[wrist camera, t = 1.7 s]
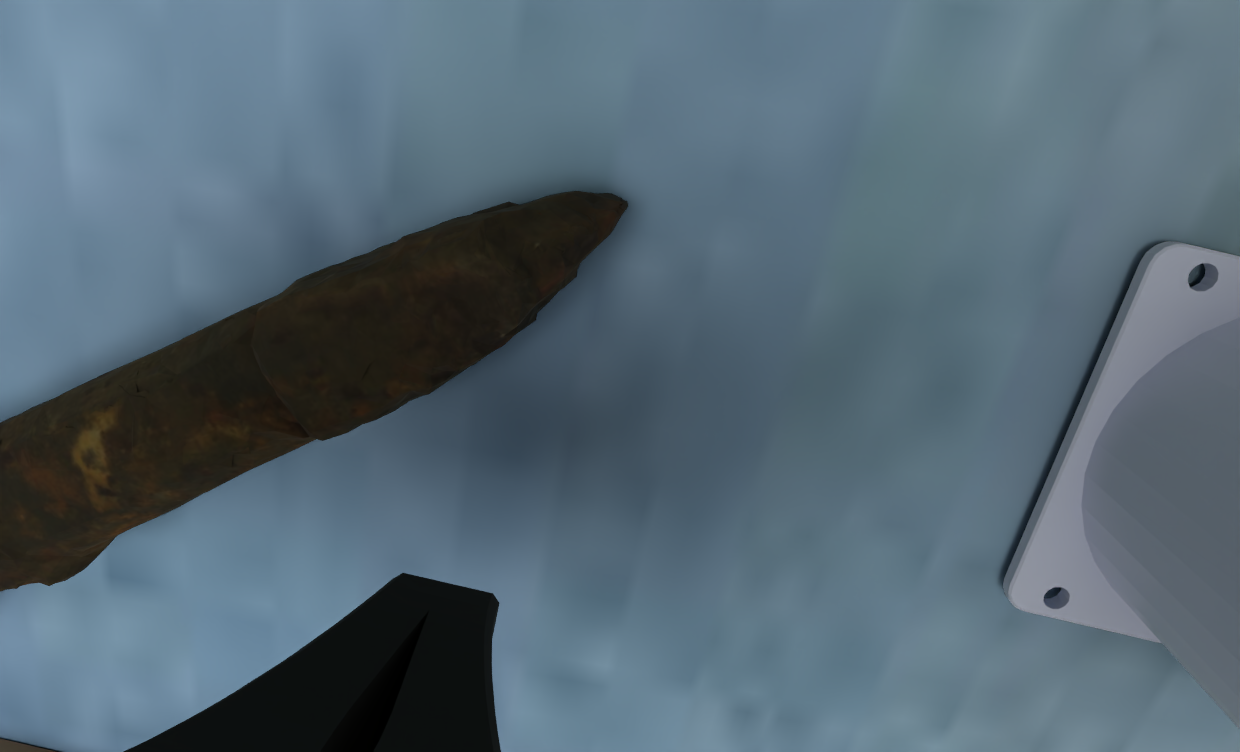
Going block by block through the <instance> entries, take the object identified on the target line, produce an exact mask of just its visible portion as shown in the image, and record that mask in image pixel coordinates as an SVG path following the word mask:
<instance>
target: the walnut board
mask: <svg viewBox="0 0 1240 752" xmlns="http://www.w3.org/2000/svg"><path fill="white" fill-rule="evenodd" d="M0 752H56V751H52V750H47V749H43V748H39V747H34V746H30V745H26V744H21V743H17V742H13V741H8V740H4V739H0Z"/></svg>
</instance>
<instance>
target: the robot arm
mask: <svg viewBox="0 0 1240 752" xmlns="http://www.w3.org/2000/svg"><path fill="white" fill-rule="evenodd" d="M1201 263H1203V264H1204V267H1205V269H1206V270H1205V276H1204V278H1203V279H1202V280H1201V282H1200V283H1198V284H1196V285H1195V286H1193V287H1190V286H1189V284H1188V276H1189V273H1190V272H1191V271H1192V269H1193V268H1194V267H1196V266H1198V265H1200V264H1201ZM1054 587H1061V591H1060V592H1059V593H1058V595H1057V596H1054V597H1052V598H1044V595H1045V594H1046V592H1047V591H1048V590H1050V589H1052V588H1054ZM1003 589H1004V593H1005V595H1006V596H1007V598H1008V599H1009V601H1010V602H1011V603H1012V604H1013V605H1014V606H1015V608H1017V609H1020V610H1022V611H1025V612H1029V613H1033V614H1038V615H1042V616H1046V617H1051V618H1055V619H1059V620H1063V621H1068V622H1072V623H1076V624H1081V625H1085V626H1089V627H1093V628H1098V629H1102V630H1106V631H1111V632H1115V633H1119V634H1123V635H1128V636H1132V637H1136V638H1141V639H1145V640H1149V641H1153V642H1158V643H1162V644H1163V645H1164V646H1165V647H1166V648H1167V649H1168V650H1169V652H1170V653H1171V654H1172V655H1173V656H1174V657H1175V658H1176V659H1177V660H1178V662H1179V663H1180V664H1181V665H1182V666H1183V667H1184V668H1185V669H1186V670H1187V672H1188V673H1189V674H1190V675H1191V676H1192V677H1193V678H1194V679H1195V680H1196V682H1197V683H1198V684H1199V685H1200V686H1201V687H1202V688H1203V689H1204V690H1205V692H1206V693H1207V694H1208V695H1209V696H1210V697H1211V698H1212V699H1213V700H1214V702H1215V703H1216V704H1217V705H1218V706H1219V707H1220V708H1221V709H1222V710H1223V711H1224V713H1225V714H1226V715H1227V716H1228V717H1229V718H1230V719H1231V720H1232V721H1233V723H1234V724H1235V725H1236V726H1237V727H1238V728H1239V729H1240V256H1236V255H1232V254H1228V253H1223V252H1219V251H1215V250H1211V249H1207V248H1202V247H1198V246H1194V245H1190V244H1185V243H1181V242H1173V241H1166V242H1163V243H1160V244H1157V245H1155V246H1154V247H1152V248H1151V249H1150V250H1149V251H1147V252H1146V253H1145V255H1144V257H1143V258H1142V260H1141V261H1140V263H1139V265H1138V268H1137V270H1136V272H1135V275H1134V277H1133V279H1132V282H1131V284H1130V286H1129V289H1128V291H1127V293H1126V296H1125V298H1124V300H1123V303H1122V305H1121V307H1120V310H1119V312H1118V314H1117V317H1116V319H1115V321H1114V324H1113V326H1112V328H1111V331H1110V333H1109V335H1108V338H1107V340H1106V342H1105V345H1104V347H1103V349H1102V352H1101V354H1100V356H1099V359H1098V361H1097V363H1096V366H1095V368H1094V370H1093V373H1092V375H1091V377H1090V380H1089V382H1088V384H1087V387H1086V389H1085V391H1084V394H1083V396H1082V398H1081V401H1080V403H1079V405H1078V408H1077V410H1076V412H1075V415H1074V417H1073V419H1072V422H1071V424H1070V426H1069V429H1068V431H1067V433H1066V436H1065V438H1064V440H1063V442H1062V445H1061V447H1060V449H1059V452H1058V454H1057V456H1056V459H1055V461H1054V463H1053V466H1052V468H1051V470H1050V473H1049V475H1048V477H1047V480H1046V482H1045V484H1044V487H1043V489H1042V491H1041V494H1040V496H1039V498H1038V501H1037V503H1036V505H1035V508H1034V510H1033V512H1032V515H1031V517H1030V519H1029V522H1028V524H1027V526H1026V529H1025V531H1024V533H1023V536H1022V538H1021V540H1020V543H1019V545H1018V547H1017V550H1016V552H1015V554H1014V557H1013V559H1012V561H1011V564H1010V566H1009V568H1008V571H1007V573H1006V575H1005V578H1004V582H1003ZM498 607H499V602H498V600H497V599H496V597H495V596H494V594H493V593H488V592H484V591H480V590H475V589H471V588H467V587H462V586H458V585H453V584H449V583H445V582H440V581H436V580H432V579H427V578H423V577H419V576H414V575H410V574H406V573H402V574H400V575H399V576H397V577H395V578H393V579H392V580H391V581H390V582H388V583H387V584H386V585H385V586H384V587H382V588H381V589H380V590H379V591H377V592H376V593H375V594H374V595H372V596H371V597H370V598H369V599H367V600H366V601H365V602H364V603H362V604H361V605H360V606H358V607H357V608H356V609H355V610H353V611H352V612H351V613H349V614H348V615H347V616H345V617H344V618H343V619H342V620H340V621H339V622H338V623H336V624H335V625H334V626H332V627H331V628H329V629H328V630H327V631H325V632H324V633H322V634H321V635H320V636H318V637H317V638H315V639H314V640H313V641H311V642H310V643H308V644H307V645H306V646H304V647H303V648H301V649H300V650H299V651H297V652H296V653H294V654H293V655H292V656H290V657H289V658H287V659H286V660H284V661H283V662H281V663H280V664H278V665H276V666H275V667H273V668H272V669H270V670H269V671H267V672H265V673H264V674H262V675H261V676H259V677H258V678H256V679H254V680H253V681H251V682H250V683H248V684H247V685H245V686H243V687H242V688H240V689H239V690H237V691H236V692H234V693H232V694H231V695H229V696H227V697H226V698H224V699H222V700H221V701H219V702H217V703H216V704H214V705H212V706H210V707H209V708H207V709H205V710H203V711H202V712H200V713H198V714H196V715H194V716H193V717H191V718H189V719H187V720H185V721H184V722H182V723H180V724H178V725H176V726H174V727H172V728H170V729H168V730H167V731H165V732H163V733H161V734H159V735H157V736H155V737H153V738H151V739H149V740H147V741H145V742H143V743H141V744H139V745H137V746H135V747H133V748H130V749H128V750H126V751H124V752H501V750H500V743H499V737H498V731H497V723H496V716H495V706H494V694H493V682H492V636H493V632H494V627H495V622H496V617H497V612H498Z"/></svg>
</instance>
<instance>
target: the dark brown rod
mask: <svg viewBox="0 0 1240 752" xmlns="http://www.w3.org/2000/svg"><path fill="white" fill-rule="evenodd" d="M627 207H628V203H627V201H625V200H623V199H622V198H620V197H618V196H616V195H613V194H610V193H601V194H594V193H589V192H581V191H572V192H564V193H559V194H554V195H549V196H546V197H543V198H540V199H537V200H535V201H532V202H529V203H526V204H522V205H518V204H515V203H511V202H506V203H503V204H500V205H497V206H494V207H491V208H488V209H484V210H481V211H478V212H475V213H473V214H471V215H467V216H462V217H457V218H454V219H451V220H448V221H445V222H442V223H440V224H439V225H436V226H433V227H430V228H428V229H425V230H422V231H419V232H416V233H413V234H409V235H406V236H403V237H402V238H401V239H400V240H398V241H397V242H393V243H390V244H388V245H385V246H382V247H380V248H377V249H375V250H373V251H371V252H369V253H367V254H364V255H360V256H357V257H354V258H351V259H349V260H347V261H345V262H342V263H340V264H336V265H332V266H330V267H327V268H324V269H322V270H319V271H317V272H314V273H312V274H309V275H307V276H304V277H302V278H300V279H298V280H296V281H295V282H294V283H293V284H292V285H290V286H289V287H288V288H287V289H286V290H285V291H283V292H282V293H280V294H279V295H277V296H275V297H272V298H270V299H268V300H265V301H263V302H261V303H258V304H256V305H254V306H251V307H249V308H247V309H244V310H242V311H240V312H237V313H235V314H233V315H231V316H229V317H227V318H225V319H223V320H221V321H219V322H217V323H214V324H212V325H210V326H208V327H206V328H204V329H202V330H200V331H198V332H196V333H194V334H191V335H189V336H187V337H185V338H183V339H181V340H180V341H177V342H175V343H173V344H171V345H169V346H166V347H164V348H162V349H160V350H158V351H156V352H153V353H151V354H149V355H147V356H144V357H142V358H140V359H137V360H135V361H133V362H131V363H128V364H126V365H124V366H121V367H119V368H117V369H114V370H112V371H110V372H108V373H105V374H103V375H101V376H99V377H97V378H95V379H93V380H91V381H88V382H86V383H84V384H82V385H80V386H78V387H76V388H74V389H72V390H70V391H68V392H65V393H64V394H62V395H60V396H58V397H56V398H54V399H51V400H49V401H47V402H44V403H42V404H40V405H37V406H35V407H32V408H30V409H29V410H27V411H25V412H23V413H21V414H19V415H17V416H14V417H12V418H9V419H7V420H5V421H3V422H1V423H0V591H3V590H5V589H17V588H18V587H20V586H22V585H26V584H31V583H42V584H45V585H48V586H50V585H52V584H55V583H58V582H62V581H65V580H67V579H69V578H71V577H73V576H74V575H76V574H77V573H79V572H81V571H82V570H84V569H85V568H86V567H87V566H88V565H89V564H90V563H91V562H92V561H93V560H95V558H96V557H97V556H98V555H99V554H100V553H101V552H102V551H103V550H104V549H105V548H106V547H107V546H108V545H109V544H110V543H111V542H112V541H113V540H114V538H115V537H116V536H117V535H119V534H121V533H123V532H125V531H127V530H129V529H131V528H133V527H135V526H138V525H140V524H142V523H145V522H147V521H149V520H151V519H154V518H156V517H158V516H160V515H163V514H165V513H167V512H169V511H171V510H173V509H176V508H178V507H180V506H181V505H183V504H185V503H187V502H189V501H190V500H192V499H194V498H196V497H198V496H199V495H201V494H203V493H205V492H208V491H210V490H212V489H214V488H215V487H217V486H219V485H221V484H223V483H225V482H227V481H229V480H231V479H233V478H235V477H237V476H239V475H240V474H242V473H244V472H246V471H248V470H250V469H253V468H255V467H257V466H259V465H262V464H264V463H266V462H268V461H270V460H273V459H275V458H277V457H279V456H282V455H284V454H286V453H288V452H290V451H292V450H295V449H297V448H299V447H301V446H303V445H305V444H307V443H309V442H311V441H314V440H316V439H318V440H322V441H323V440H326V439H330V438H333V437H336V436H339V435H342V434H345V433H348V432H349V431H351V430H353V429H355V428H357V427H358V426H360V425H362V424H365V423H368V422H371V421H374V420H376V419H378V418H380V417H383V416H385V415H387V414H389V413H391V412H393V411H395V410H396V409H398V408H400V407H401V406H403V405H404V404H406V403H407V402H409V401H410V400H413V399H415V398H418V397H420V396H423V395H427V394H430V393H431V392H433V391H434V390H436V389H437V388H439V387H440V386H441V385H443V384H444V383H446V382H447V381H449V380H450V379H452V378H453V377H455V376H456V375H458V374H459V373H461V372H462V371H464V370H465V369H467V368H468V367H470V366H472V365H474V364H476V363H477V362H478V361H480V360H481V359H483V358H484V357H485V356H487V355H488V354H490V353H491V352H493V351H495V350H496V349H498V348H500V347H502V346H504V345H505V344H506V343H507V342H508V341H509V340H510V339H511V338H512V337H513V336H514V335H515V334H517V333H518V332H520V331H521V330H523V329H524V328H525V327H527V326H528V325H530V324H531V323H533V322H534V321H535V320H536V317H537V313H538V312H539V311H540V310H541V309H542V308H543V307H544V306H545V305H546V304H547V303H548V302H549V301H550V300H551V299H552V298H553V297H554V296H555V295H556V294H557V292H558V291H560V290H561V289H563V288H564V287H565V286H566V285H567V284H568V283H570V282H571V281H572V280H573V279H574V278H575V277H576V276H577V269H578V267H579V265H580V263H581V262H582V261H583V260H584V259H585V258H586V257H587V256H588V255H589V254H590V253H591V252H592V251H593V250H594V249H595V248H596V247H597V246H598V245H599V244H600V243H601V242H602V241H603V240H605V239H606V238H607V237H608V236H609V235H610V234H611V232H612V231H613V229H614V228H615V226H616V224H617V223H618V221H619V219H620V217H621V215H622V214H623V213H624V211H625V210H626V209H627Z"/></svg>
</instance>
